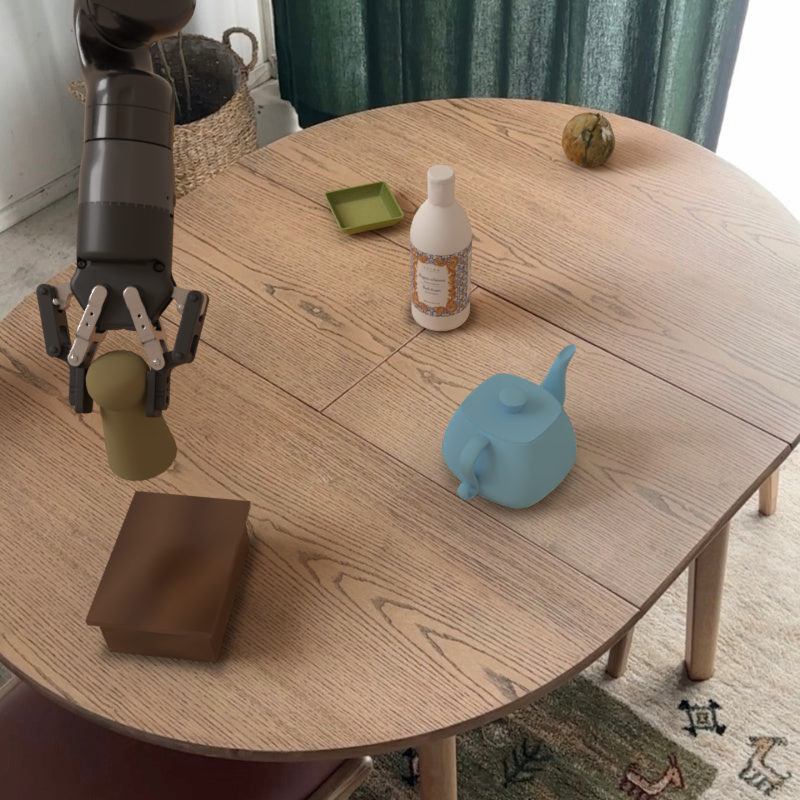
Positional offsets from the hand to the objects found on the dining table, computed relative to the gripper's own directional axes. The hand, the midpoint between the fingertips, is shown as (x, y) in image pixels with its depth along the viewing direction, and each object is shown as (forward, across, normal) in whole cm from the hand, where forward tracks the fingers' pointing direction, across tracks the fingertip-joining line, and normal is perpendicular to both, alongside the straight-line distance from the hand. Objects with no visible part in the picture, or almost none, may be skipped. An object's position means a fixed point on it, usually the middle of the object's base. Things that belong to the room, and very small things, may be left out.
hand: (119, 414), depth 86 cm
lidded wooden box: (+18, +2, +14) cm, 22 cm away
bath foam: (-11, +24, +43) cm, 50 cm away
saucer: (-24, +12, +56) cm, 62 cm away
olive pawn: (+4, 0, +6) cm, 8 cm away
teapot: (+4, +33, +27) cm, 43 cm away
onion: (-35, +42, +67) cm, 86 cm away
